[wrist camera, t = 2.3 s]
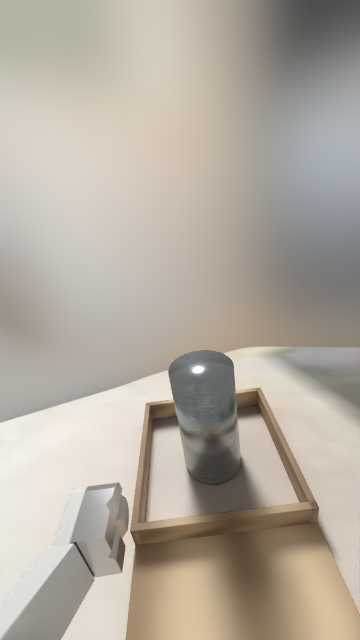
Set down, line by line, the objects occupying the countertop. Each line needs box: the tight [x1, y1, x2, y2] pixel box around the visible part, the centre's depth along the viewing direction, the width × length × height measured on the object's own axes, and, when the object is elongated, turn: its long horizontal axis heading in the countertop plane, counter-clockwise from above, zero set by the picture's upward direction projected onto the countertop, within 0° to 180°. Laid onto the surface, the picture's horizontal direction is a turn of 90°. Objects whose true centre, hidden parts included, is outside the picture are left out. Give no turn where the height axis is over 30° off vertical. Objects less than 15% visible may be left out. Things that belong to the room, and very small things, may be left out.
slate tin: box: [168, 350, 241, 485], centre depth 25 cm, size 6×6×11 cm
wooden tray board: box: [126, 388, 360, 640], centre depth 20 cm, size 14×28×2 cm, turn 2°
